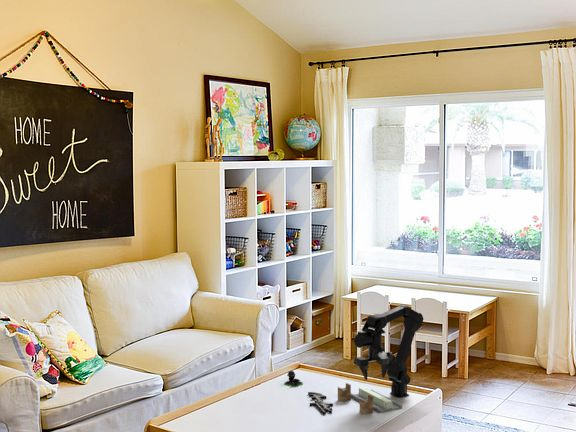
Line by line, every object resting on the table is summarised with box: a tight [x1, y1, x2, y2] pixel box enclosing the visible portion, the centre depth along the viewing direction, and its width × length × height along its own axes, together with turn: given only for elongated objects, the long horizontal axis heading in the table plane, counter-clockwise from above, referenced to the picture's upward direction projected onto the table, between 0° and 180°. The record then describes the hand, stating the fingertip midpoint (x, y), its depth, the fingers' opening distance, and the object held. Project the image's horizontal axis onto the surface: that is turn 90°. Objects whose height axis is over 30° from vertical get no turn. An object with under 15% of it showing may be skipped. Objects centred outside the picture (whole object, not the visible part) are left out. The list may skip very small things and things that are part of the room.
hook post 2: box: [359, 395, 374, 415], centre depth 308 cm, size 5×3×7 cm, turn 117°
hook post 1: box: [337, 382, 352, 403], centre depth 324 cm, size 5×3×7 cm, turn 117°
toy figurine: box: [283, 370, 304, 388], centre depth 348 cm, size 10×10×6 cm
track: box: [351, 388, 403, 414], centre depth 321 cm, size 12×24×2 cm, turn 27°
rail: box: [358, 386, 392, 409], centre depth 321 cm, size 22×3×3 cm, turn 27°
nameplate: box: [307, 391, 334, 416], centre depth 319 cm, size 27×2×10 cm
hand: (374, 378), depth 320 cm, fingers open, 9 cm apart
